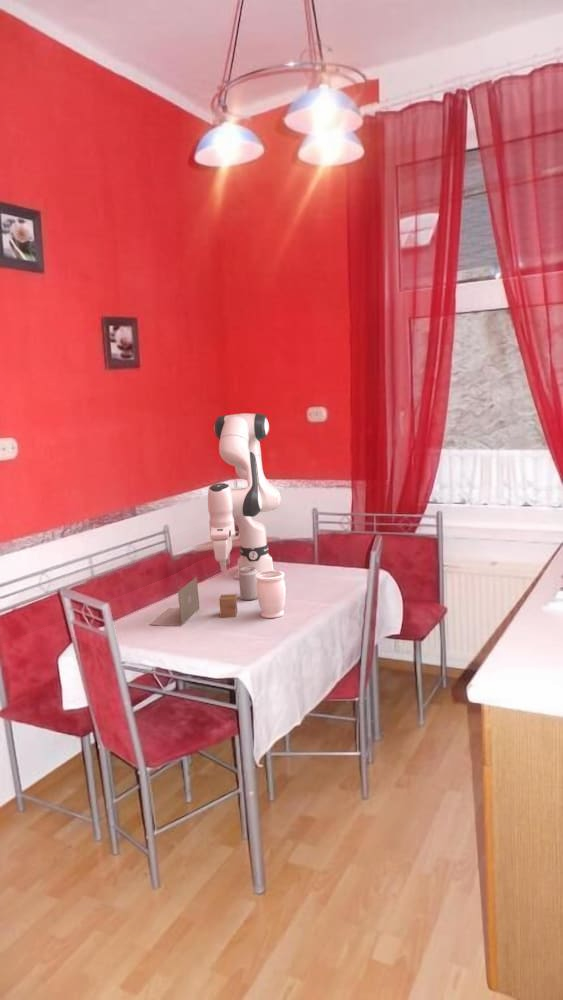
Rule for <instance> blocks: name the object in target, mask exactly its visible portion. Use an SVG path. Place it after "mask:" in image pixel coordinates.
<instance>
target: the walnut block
mask: <svg viewBox="0 0 563 1000" xmlns="http://www.w3.org/2000/svg"><path fill="white" fill-rule="evenodd" d="M218 600H219V601H218V603H219V612H220V613H219V615H220V619H223V618H228V619H229V618H237V615H238V602H237V601H238V600H237V593H227V594H221V595H220V596H219V599H218Z"/></svg>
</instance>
